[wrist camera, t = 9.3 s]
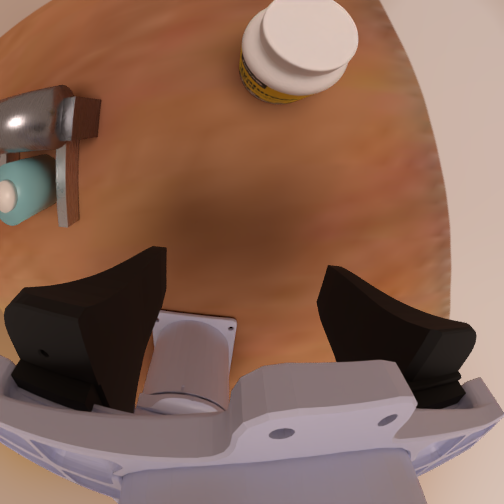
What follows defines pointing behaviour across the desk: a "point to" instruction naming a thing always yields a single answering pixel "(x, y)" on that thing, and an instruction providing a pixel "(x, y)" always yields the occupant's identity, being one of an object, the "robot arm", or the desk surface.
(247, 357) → the desk surface
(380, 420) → the robot arm
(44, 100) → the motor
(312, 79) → the supplement bottle
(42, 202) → the teal cylinder
